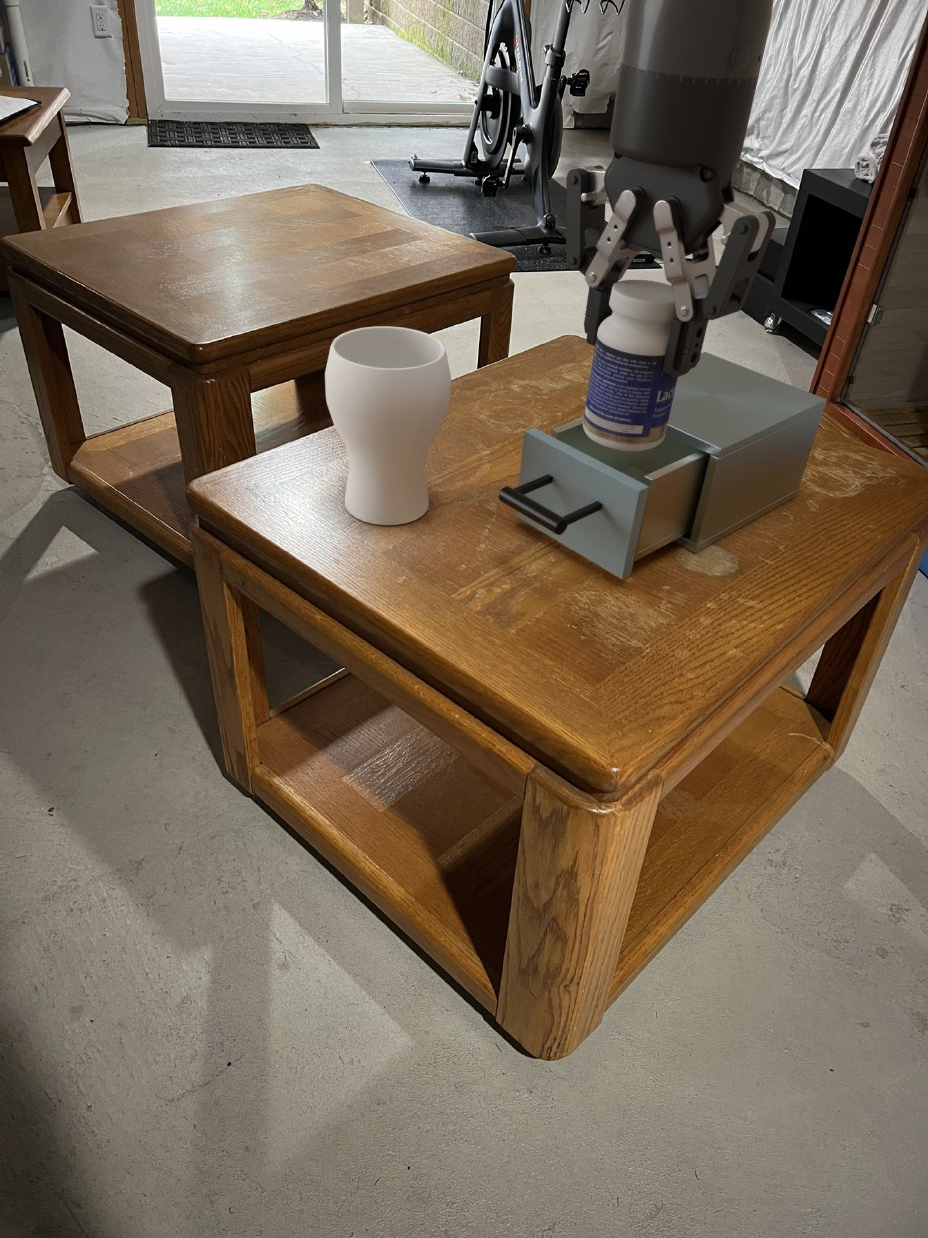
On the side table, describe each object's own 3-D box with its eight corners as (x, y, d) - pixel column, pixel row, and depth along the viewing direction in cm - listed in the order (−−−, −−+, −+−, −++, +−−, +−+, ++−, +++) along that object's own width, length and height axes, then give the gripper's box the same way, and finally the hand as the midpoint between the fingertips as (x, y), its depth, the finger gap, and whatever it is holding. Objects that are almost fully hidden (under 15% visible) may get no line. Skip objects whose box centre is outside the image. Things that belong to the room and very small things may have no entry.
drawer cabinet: (695, 553, 83) (721, 448, 77) (579, 490, 91) (595, 390, 84) (796, 496, 92) (827, 399, 86) (684, 444, 100) (705, 351, 94)
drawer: (575, 604, 74) (591, 513, 69) (468, 536, 81) (475, 448, 76) (730, 520, 86) (753, 437, 81) (625, 466, 93) (640, 387, 88)
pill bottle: (664, 459, 62) (696, 310, 56) (578, 448, 62) (601, 299, 56) (664, 422, 66) (693, 280, 60) (584, 412, 67) (605, 270, 61)
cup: (426, 471, 92) (432, 320, 83) (458, 527, 84) (469, 367, 75) (319, 481, 89) (313, 326, 80) (341, 541, 81) (337, 376, 72)
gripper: (844, 78, 49) (761, 382, 59) (630, 40, 57) (590, 314, 67) (766, 86, 45) (692, 411, 55) (547, 44, 53) (518, 335, 63)
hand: (636, 357), depth 61 cm, fingers closed on pill bottle, 5 cm apart
